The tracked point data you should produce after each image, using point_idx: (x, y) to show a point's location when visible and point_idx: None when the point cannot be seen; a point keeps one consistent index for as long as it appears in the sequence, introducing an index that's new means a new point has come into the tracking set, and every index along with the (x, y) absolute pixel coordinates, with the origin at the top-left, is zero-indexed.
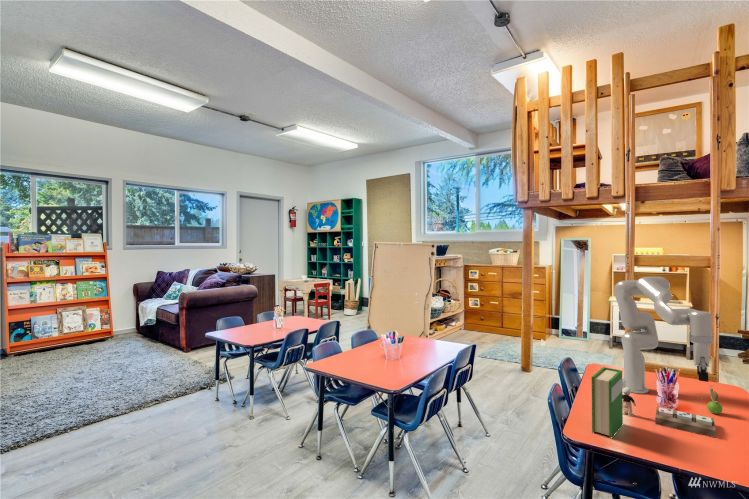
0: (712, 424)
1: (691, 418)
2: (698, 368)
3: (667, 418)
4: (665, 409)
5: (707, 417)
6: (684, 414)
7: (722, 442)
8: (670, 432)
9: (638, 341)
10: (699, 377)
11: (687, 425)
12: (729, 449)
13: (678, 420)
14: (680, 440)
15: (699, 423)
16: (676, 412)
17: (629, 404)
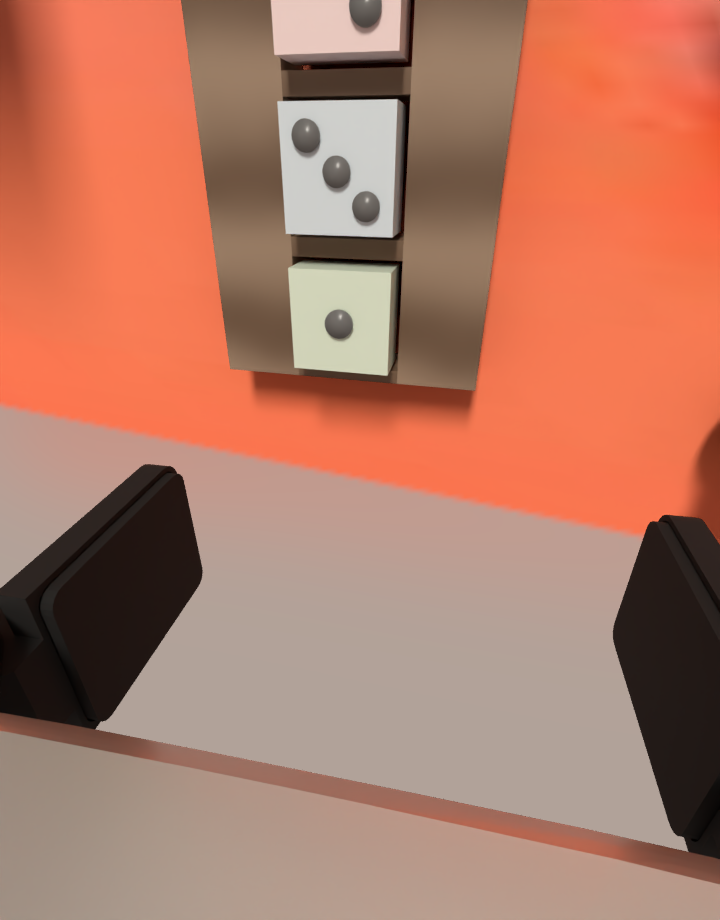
0: None
1: (287, 231)
2: (710, 665)
3: (223, 9)
4: None
5: (381, 352)
6: (324, 173)
7: (211, 375)
8: (121, 62)
9: None
10: (110, 506)
11: (211, 193)
12: (145, 391)
13: (244, 119)
14: (44, 140)
15: None
16: (452, 95)
17: None
